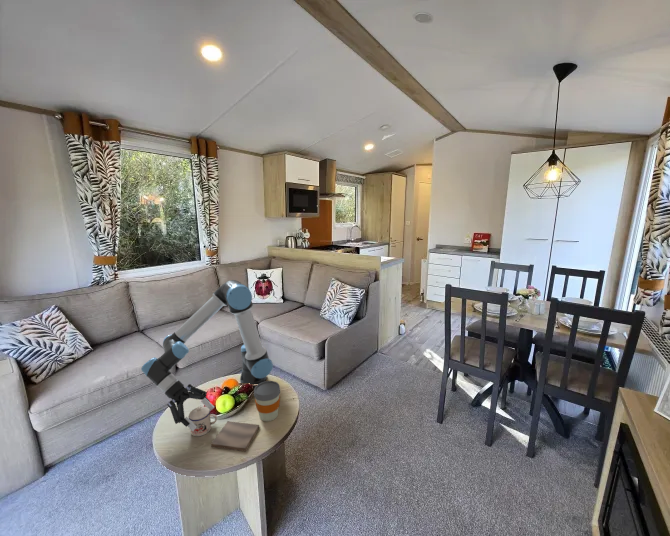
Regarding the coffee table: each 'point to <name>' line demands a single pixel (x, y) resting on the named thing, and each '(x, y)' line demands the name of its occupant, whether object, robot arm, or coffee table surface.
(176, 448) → the coffee table surface
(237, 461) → the coffee table surface
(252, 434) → the walnut board
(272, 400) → the reusable coffee cup
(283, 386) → the coffee table surface
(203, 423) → the teacup with lid
